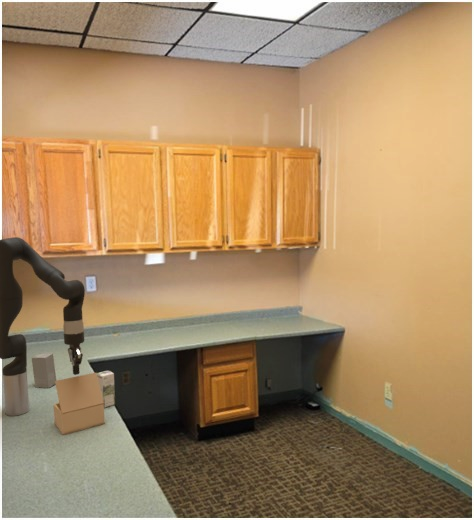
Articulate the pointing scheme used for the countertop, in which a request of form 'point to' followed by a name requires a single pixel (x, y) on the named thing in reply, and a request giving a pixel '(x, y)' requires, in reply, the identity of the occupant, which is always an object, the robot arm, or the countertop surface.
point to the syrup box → (107, 387)
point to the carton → (78, 418)
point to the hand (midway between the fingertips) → (76, 374)
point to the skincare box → (44, 370)
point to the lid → (78, 392)
